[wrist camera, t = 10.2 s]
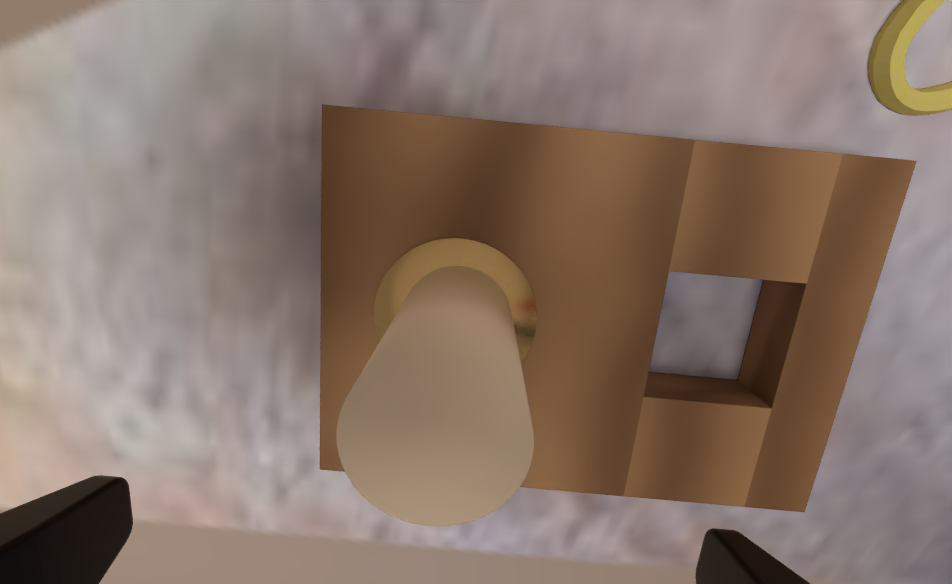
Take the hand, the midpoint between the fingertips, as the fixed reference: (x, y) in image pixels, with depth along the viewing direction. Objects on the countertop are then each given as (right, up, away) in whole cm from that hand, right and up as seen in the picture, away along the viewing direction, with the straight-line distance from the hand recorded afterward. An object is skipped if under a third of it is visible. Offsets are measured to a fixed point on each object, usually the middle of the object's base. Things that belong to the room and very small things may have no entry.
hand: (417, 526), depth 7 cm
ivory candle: (0, +3, +10) cm, 10 cm away
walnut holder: (+5, +3, +13) cm, 14 cm away
